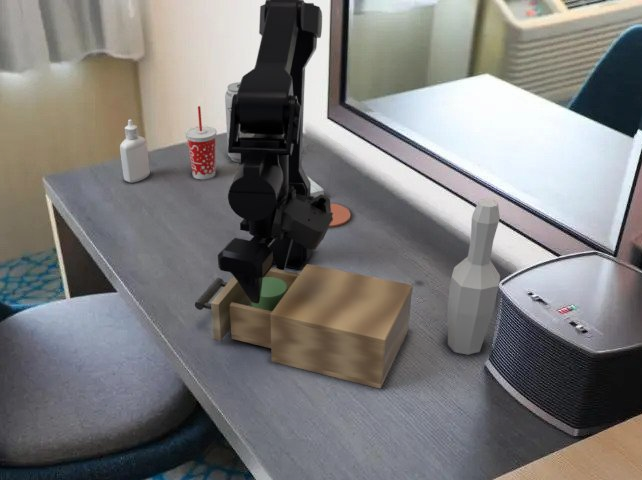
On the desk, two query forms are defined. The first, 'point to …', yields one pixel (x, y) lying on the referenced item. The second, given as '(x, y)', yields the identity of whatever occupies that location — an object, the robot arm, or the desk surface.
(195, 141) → the beverage cup
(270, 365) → the desk surface
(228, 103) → the energy drink can
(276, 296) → the can
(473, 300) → the low poly bottle
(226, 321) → the drawer
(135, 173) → the eye dropper bottle
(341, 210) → the coaster
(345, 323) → the cabinet
